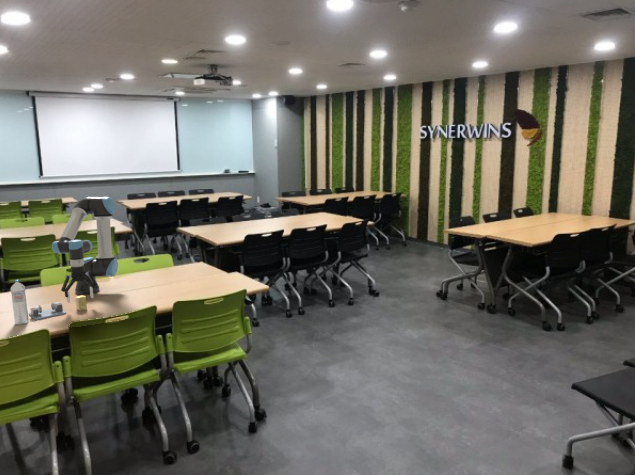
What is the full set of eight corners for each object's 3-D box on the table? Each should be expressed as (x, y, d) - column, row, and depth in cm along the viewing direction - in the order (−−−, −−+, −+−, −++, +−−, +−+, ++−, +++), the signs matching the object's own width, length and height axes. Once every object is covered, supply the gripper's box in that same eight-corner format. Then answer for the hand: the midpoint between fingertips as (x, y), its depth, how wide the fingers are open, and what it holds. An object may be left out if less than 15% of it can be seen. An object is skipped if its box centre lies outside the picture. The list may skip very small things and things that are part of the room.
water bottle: (31, 320, 287) (26, 278, 283) (24, 325, 281) (19, 281, 276) (19, 321, 287) (13, 278, 283) (12, 325, 280) (7, 282, 276)
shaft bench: (28, 314, 298) (27, 304, 297) (57, 308, 309) (56, 298, 308) (36, 320, 288) (34, 309, 287) (65, 313, 299) (64, 303, 298)
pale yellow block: (76, 309, 307) (75, 296, 306) (84, 307, 310) (83, 295, 309) (79, 310, 304) (78, 298, 303) (87, 309, 307) (85, 296, 306)
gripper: (57, 270, 291) (60, 305, 294) (100, 263, 308) (103, 296, 312) (53, 268, 296) (56, 302, 300) (96, 261, 314) (98, 294, 317)
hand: (80, 299), depth 306 cm, fingers open, 13 cm apart
